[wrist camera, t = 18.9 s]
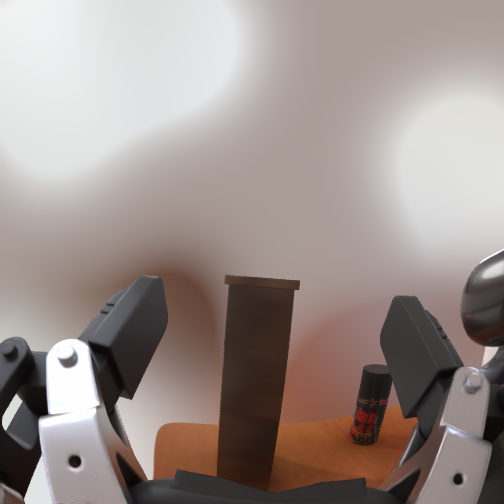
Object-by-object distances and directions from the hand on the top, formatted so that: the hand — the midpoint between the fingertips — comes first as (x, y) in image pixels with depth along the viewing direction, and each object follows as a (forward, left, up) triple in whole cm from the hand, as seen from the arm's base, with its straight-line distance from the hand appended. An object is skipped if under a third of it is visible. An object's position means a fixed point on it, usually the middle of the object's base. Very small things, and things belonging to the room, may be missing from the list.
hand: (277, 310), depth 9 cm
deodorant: (-21, -36, -29) cm, 51 cm away
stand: (+1, -26, -29) cm, 39 cm away
